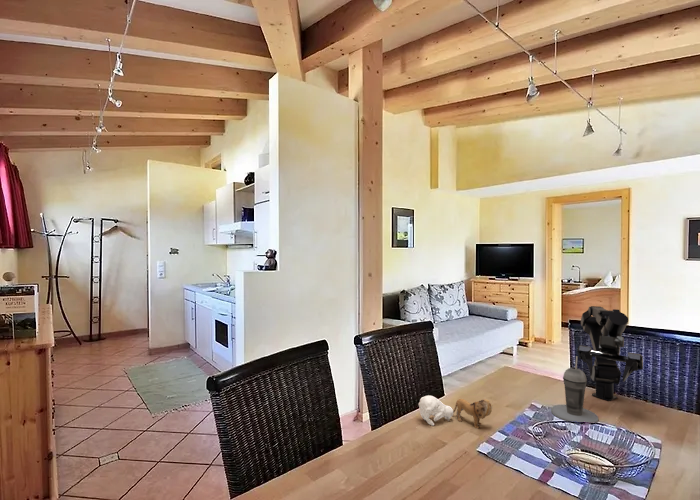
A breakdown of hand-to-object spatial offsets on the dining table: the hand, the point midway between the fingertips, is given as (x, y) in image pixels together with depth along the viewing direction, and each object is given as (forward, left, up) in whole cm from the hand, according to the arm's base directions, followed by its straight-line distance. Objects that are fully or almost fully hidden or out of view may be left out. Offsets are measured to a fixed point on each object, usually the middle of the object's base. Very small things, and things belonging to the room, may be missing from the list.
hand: (606, 378), depth 129 cm
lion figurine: (+43, -19, -14) cm, 49 cm away
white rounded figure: (+53, -25, -14) cm, 60 cm away
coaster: (+8, -6, -14) cm, 17 cm away
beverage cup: (+8, -6, -13) cm, 16 cm away
